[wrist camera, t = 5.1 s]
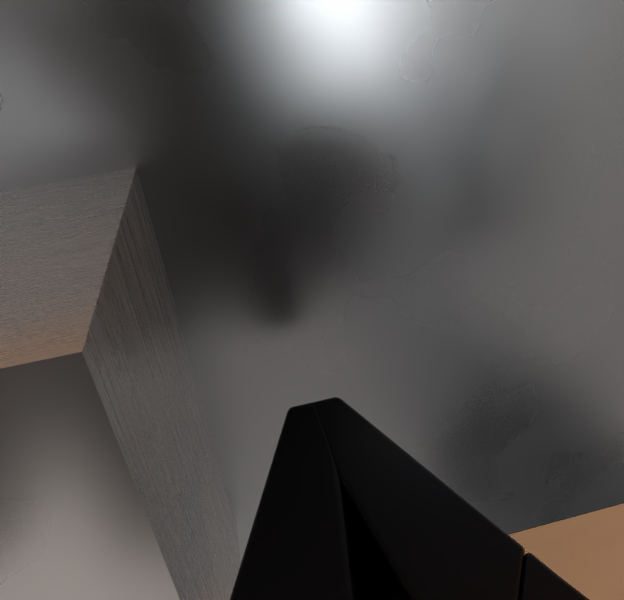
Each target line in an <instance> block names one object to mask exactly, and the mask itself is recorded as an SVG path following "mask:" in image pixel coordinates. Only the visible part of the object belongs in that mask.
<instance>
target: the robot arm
mask: <svg viewBox="0 0 624 600" xmlns="http://www.w3.org/2000/svg"><path fill="white" fill-rule="evenodd" d="M230 600H589V599H588V598H586V597H585V596H584V595H582V594H581V593H580V592H579V591H577V590H576V589H575V588H573V587H572V586H571V585H570V584H568V583H567V582H566V581H564V580H563V579H562V578H561V577H559V576H558V575H557V574H556V573H554V572H553V571H552V570H551V569H549V568H548V567H547V566H546V565H545V564H543V563H542V562H541V561H540V560H538V559H537V558H536V557H535V556H534V555H532V554H531V553H527V554H525V549H524V548H523V547H522V546H521V545H520V544H519V543H517V542H516V541H515V540H514V539H512V538H511V537H510V536H509V535H507V534H506V533H505V532H504V531H503V530H501V529H500V528H499V527H498V526H496V525H495V524H494V523H493V522H492V521H490V520H489V519H488V518H487V517H485V516H484V515H483V514H482V513H480V512H479V511H478V510H477V509H476V508H474V507H473V506H472V505H471V504H469V503H468V502H467V501H466V500H465V499H463V498H462V497H461V496H460V495H458V494H457V493H456V492H455V491H454V490H452V489H451V488H450V487H449V486H447V485H446V484H445V483H444V482H442V481H441V480H440V479H439V478H438V477H436V476H435V475H434V474H433V473H431V472H430V471H429V470H428V469H427V468H425V467H424V466H423V465H422V464H420V463H419V462H418V461H417V460H416V459H414V458H413V457H412V456H411V455H409V454H408V453H407V452H406V451H404V450H403V449H402V448H401V447H400V446H398V445H397V444H396V443H395V442H393V441H392V440H391V439H390V438H389V437H387V436H386V435H385V434H384V433H382V432H381V431H380V430H379V429H377V428H376V427H375V426H374V425H373V424H371V423H370V422H369V421H368V420H366V419H365V418H364V417H363V416H362V415H360V414H359V413H358V412H357V411H355V410H354V409H353V408H352V407H351V406H349V405H348V404H347V403H346V402H344V401H343V400H342V399H341V398H338V397H333V398H329V399H325V400H320V401H316V402H312V403H307V404H303V405H298V406H294V407H291V408H290V409H289V410H288V412H287V414H286V418H285V421H284V424H283V427H282V431H281V434H280V437H279V440H278V444H277V447H276V450H275V454H274V457H273V460H272V463H271V467H270V470H269V473H268V476H267V480H266V483H265V486H264V489H263V493H262V496H261V499H260V503H259V506H258V509H257V512H256V516H255V519H254V522H253V525H252V529H251V532H250V535H249V539H248V542H247V545H246V548H245V552H244V555H243V558H242V561H241V565H240V568H239V571H238V574H237V578H236V581H235V584H234V588H233V591H232V594H231V597H230Z"/></svg>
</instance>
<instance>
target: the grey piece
mask: <svg viewBox="0 0 624 600" xmlns="http://www.w3.org/2000/svg"><path fill="white" fill-rule="evenodd" d="M133 168H136V169H137V173H138V176H139V180H140V184H141V187H142V191H143V194H144V198H145V201H146V205H147V208H148V212H149V215H150V219H151V222H152V226H153V229H154V233H155V236H156V240H157V244H158V247H159V251H160V254H161V258H162V261H163V265H164V268H165V272H166V275H167V279H168V282H169V286H170V289H171V293H172V296H173V300H174V304H175V307H176V311H177V314H178V318H179V321H180V325H181V328H182V332H183V335H184V339H185V342H186V346H187V349H188V353H189V357H190V360H191V364H192V367H193V371H194V374H195V378H196V381H197V385H198V388H199V392H200V395H201V399H202V402H203V406H204V409H205V413H206V417H207V420H208V424H209V427H210V431H211V434H212V438H213V441H214V445H215V448H216V452H217V455H218V459H219V462H220V466H221V469H222V473H223V477H224V480H225V484H226V487H227V491H228V494H229V498H230V501H231V505H232V508H233V512H234V515H235V519H236V522H237V532H238V543H239V553H240V564H241V561H242V558H243V555H244V552H245V548H246V545H247V542H248V539H249V535H250V532H251V529H252V525H253V522H254V519H255V516H256V512H257V509H258V506H259V503H260V499H261V496H262V493H263V489H264V486H265V483H266V480H267V476H268V473H269V470H270V467H271V463H272V460H273V457H274V454H275V450H276V447H277V444H278V440H279V437H280V434H281V431H282V427H283V424H284V421H285V418H286V414H287V412H288V410H289V409H290V408H291V407H294V406H298V405H303V404H307V403H312V402H316V401H320V400H325V399H329V398H333V397H338V398H341V399H342V400H343V401H344V402H346V403H347V404H348V405H349V406H351V407H352V408H353V409H354V410H355V411H357V412H358V413H359V414H360V415H362V416H363V417H364V418H365V419H366V420H368V421H369V422H370V423H371V424H373V425H374V426H375V427H376V428H377V429H379V430H380V431H381V432H382V433H384V434H385V435H386V436H387V437H389V438H390V439H391V440H392V441H393V442H395V443H396V444H397V445H398V446H400V447H401V448H402V449H403V450H404V451H406V452H407V453H408V454H409V455H411V456H412V457H413V458H414V459H416V460H417V461H418V462H419V463H420V464H422V465H423V466H424V467H425V468H427V469H428V470H429V471H430V472H431V473H433V474H434V475H435V476H436V477H438V478H439V479H440V480H441V481H442V482H444V483H445V484H446V485H447V486H449V487H450V488H451V489H452V490H454V491H455V492H456V493H457V494H458V495H460V496H461V497H462V498H463V499H465V500H466V501H467V502H468V503H469V504H471V505H472V506H473V507H474V508H476V509H477V510H478V511H479V512H480V513H482V514H483V515H484V516H485V517H487V518H488V519H489V520H490V521H492V522H493V523H494V524H495V525H496V526H498V527H499V528H500V529H501V530H503V531H504V532H505V533H506V534H507V535H508V534H512V533H516V532H519V531H523V530H527V529H530V528H534V527H538V526H541V525H545V524H549V523H552V522H556V521H560V520H564V519H567V518H571V517H575V516H578V515H582V514H586V513H589V512H593V511H597V510H600V509H604V508H608V507H611V506H615V505H619V504H622V503H624V0H0V192H2V191H8V190H13V189H19V188H25V187H30V186H36V185H42V184H47V183H53V182H59V181H64V180H70V179H76V178H82V177H87V176H93V175H99V174H104V173H110V172H116V171H121V170H127V169H133Z"/></svg>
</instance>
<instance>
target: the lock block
mask: <svg viewBox="0 0 624 600" xmlns="http://www.w3.org/2000/svg"><path fill="white" fill-rule="evenodd" d="M240 565H241V564H240V553H239V543H238V532H237V522H236V519H235V515H234V512H233V508H232V505H231V501H230V498H229V494H228V491H227V487H226V484H225V480H224V477H223V473H222V469H221V466H220V462H219V459H218V455H217V452H216V448H215V445H214V441H213V438H212V434H211V431H210V427H209V424H208V420H207V417H206V413H205V409H204V406H203V402H202V399H201V395H200V392H199V388H198V385H197V381H196V378H195V374H194V371H193V367H192V364H191V360H190V357H189V353H188V349H187V346H186V342H185V339H184V335H183V332H182V328H181V325H180V321H179V318H178V314H177V311H176V307H175V304H174V300H173V296H172V293H171V289H170V286H169V282H168V279H167V275H166V272H165V268H164V265H163V261H162V258H161V254H160V251H159V247H158V244H157V240H156V236H155V233H154V229H153V226H152V222H151V219H150V215H149V212H148V208H147V205H146V201H145V198H144V194H143V191H142V187H141V184H140V180H139V176H138V173H137V169H136V168H133V169H127V170H121V171H116V172H110V173H104V174H99V175H93V176H87V177H82V178H76V179H70V180H64V181H59V182H53V183H47V184H42V185H36V186H30V187H25V188H19V189H13V190H8V191H2V192H0V600H230V597H231V594H232V591H233V588H234V584H235V581H236V578H237V574H238V571H239V568H240Z"/></svg>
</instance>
